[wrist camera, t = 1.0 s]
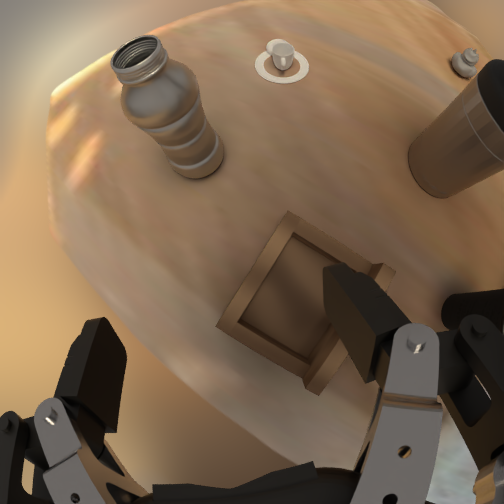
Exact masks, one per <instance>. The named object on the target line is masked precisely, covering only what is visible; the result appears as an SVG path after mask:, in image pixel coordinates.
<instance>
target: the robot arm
mask: <svg viewBox="0 0 504 504" xmlns="http://www.w3.org/2000/svg"><path fill="white" fill-rule="evenodd" d="M408 158H409V165H410V169H411V171H412V174H413V176H414V178H415V179H416V181H417V182H418V184H419V185H420V186H421V187H422V188H423V189H424V190H425V191H426V192H427V193H429V194H431V195H432V196H435V197H437V198H448V197H450V196H452V195H454V194H456V193H458V192H460V191H462V190H464V189H466V188H468V187H470V186H472V185H474V184H476V183H478V182H480V181H482V180H484V179H486V178H488V177H490V176H492V175H494V174H496V173H498V172H500V171H502V170H504V61H503V60H499V59H495V60H492V61H490V62H488V63H487V64H486V65H485V66H484V67H483V69H482V70H481V71H480V72H479V73H478V74H477V75H476V77H475V78H474V79H473V80H472V81H471V82H470V83H469V84H468V85H467V86H466V88H465V89H464V90H463V91H462V92H461V93H460V94H459V95H458V96H457V97H456V98H455V100H454V101H453V102H452V103H451V104H450V105H449V106H448V107H447V108H446V109H445V110H444V111H443V112H442V113H441V114H440V115H439V116H438V117H437V118H436V119H435V121H434V122H433V123H432V124H431V125H430V126H429V127H428V128H427V129H426V130H425V131H424V132H423V133H422V134H421V135H420V136H419V137H418V138H417V139H416V140H415V141H414V142H413V143H412V144H411V147H410V149H409V154H408ZM323 303H324V308H325V312H326V314H327V317H328V318H329V320H330V322H331V324H332V325H333V327H334V329H335V330H336V332H337V334H338V336H339V337H340V339H341V341H342V343H343V344H344V346H345V348H346V350H347V351H348V353H349V355H350V357H351V359H352V360H353V362H354V364H355V366H356V368H357V369H358V371H359V373H360V375H361V377H362V378H363V380H364V382H365V384H366V383H369V382H371V381H374V380H376V381H377V383H378V384H379V386H380V387H379V390H378V393H377V398H376V401H375V405H374V409H373V413H372V416H371V420H370V423H369V427H368V430H367V433H366V436H365V439H364V442H363V445H362V447H361V450H360V452H359V455H358V458H357V460H356V463H355V466H354V469H353V471H352V470H347V469H342V468H329V467H322V468H315V466H314V463H313V461H312V462H308V463H305V464H301V465H298V466H295V467H291V468H286V469H283V470H279V471H274V472H271V473H268V474H266V475H264V476H262V477H260V478H257V479H255V480H253V481H250V482H248V483H245V484H243V485H240V486H238V487H235V488H231V489H225V488H215V487H208V486H201V485H194V484H165V485H164V484H163V485H161V484H160V485H158V484H155V485H154V484H153V493H150V494H149V493H148V492H147V491H146V490H145V489H144V488H143V487H141V486H140V485H139V484H138V483H137V482H135V481H134V479H133V478H132V477H131V476H130V475H129V473H128V472H127V471H126V469H125V468H124V466H123V465H122V463H121V462H120V461H119V459H118V458H117V456H116V455H115V453H114V452H113V450H112V449H111V447H110V445H109V444H108V442H107V441H106V440H104V435H105V433H117V424H118V416H119V408H120V401H121V393H122V387H123V381H124V374H125V369H126V363H127V355H126V350H125V347H124V346H123V344H122V342H121V341H120V339H119V337H118V336H117V334H116V332H115V331H114V329H113V327H112V326H111V324H110V322H109V321H108V320H107V319H106V318H105V317H102V318H97V319H91V320H87V321H86V322H85V324H84V327H83V329H82V332H81V334H80V335H79V336H78V337H77V338H76V340H75V341H74V342H73V344H72V345H71V347H70V350H69V353H68V355H67V356H68V358H66V361H65V364H64V365H65V366H64V367H63V369H62V372H61V375H60V378H59V381H58V385H57V388H56V391H55V394H54V397H53V398H48V399H46V400H44V401H43V402H42V403H41V404H40V405H39V406H38V408H37V409H36V412H35V415H34V416H33V417H29V418H26V419H22V418H21V417H19V416H18V415H17V414H16V413H15V412H13V411H8V412H6V413H4V414H3V415H2V416H1V417H0V504H435V503H432V502H429V501H426V497H427V494H428V490H429V486H430V482H431V478H432V474H433V470H434V465H435V460H436V455H437V450H438V444H439V438H440V431H441V423H442V414H443V408H442V404H441V403H438V402H437V395H440V397H441V399H442V401H443V402H444V404H445V406H446V408H447V409H448V411H449V413H450V415H451V417H452V418H453V420H454V422H455V424H456V426H457V428H458V430H459V431H460V433H461V435H462V437H463V439H464V441H465V443H466V445H467V447H468V449H469V451H470V453H471V455H472V457H473V459H474V461H475V463H476V466H477V468H478V470H479V473H478V474H477V477H476V480H475V484H474V486H473V493H474V494H475V495H476V503H475V504H504V336H503V334H502V333H501V332H500V331H499V330H498V329H497V327H496V326H495V325H494V324H493V323H492V322H491V321H490V320H489V319H488V318H486V317H484V316H482V315H477V314H472V315H468V316H466V317H464V318H463V319H462V321H461V323H460V326H459V328H458V329H456V330H450V331H444V332H437V333H435V332H434V331H433V330H432V329H431V328H430V327H428V326H426V325H423V324H419V323H411V321H410V320H409V319H408V318H407V317H406V316H405V314H404V313H403V312H402V311H401V310H400V309H399V307H398V306H397V305H396V304H395V303H394V302H393V300H392V299H391V298H390V297H389V296H387V294H386V293H385V291H384V290H383V289H381V288H380V286H379V285H378V284H377V282H376V281H375V280H374V279H373V278H372V277H370V276H368V275H366V274H364V273H362V272H357V273H354V272H353V271H352V270H351V269H350V267H349V266H348V265H347V264H346V263H345V262H340V263H337V264H333V265H329V266H326V267H324V268H323ZM475 375H476V376H477V377H478V378H479V380H480V381H481V383H482V384H483V386H484V387H485V389H486V391H487V392H488V394H489V395H490V398H491V400H490V398H489V397H488V395H487V394H486V392H485V390H484V389H483V387H482V386H481V384H480V383H479V381H478V380H477V378H476V377H475ZM24 458H25V459H27V460H28V461H30V462H31V463H33V464H34V465H35V468H34V477H33V488H32V495H30V494H28V493H27V492H26V491H25V490H24V488H23V486H22V472H23V464H24Z"/></svg>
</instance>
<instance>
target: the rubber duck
mask: <svg viewBox="0 0 504 504" xmlns="http://www.w3.org/2000/svg"><path fill="white" fill-rule="evenodd" d="M476 50H477V49H475V50H472V48H468V49H466V50H465V51H464V52H463V54H461V53H459V52H456V53H455V54H454V55H453V57H452V66H453V68H454V69H455V70H456V71H457V72H458V73H459V74H460V75H461V76H463V77H469V78H471V77H473V76H474V75H475V74H476V73H477V70H476V68H475V66H474V65H475V64H476V63H477V62H478V60H479V57H478V56H479V55H478V54H476Z"/></svg>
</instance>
